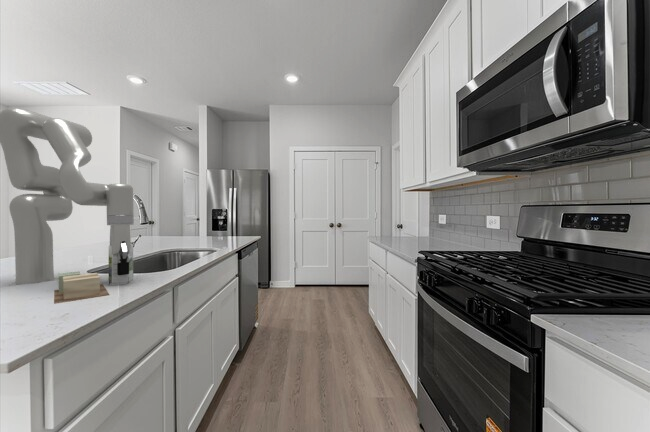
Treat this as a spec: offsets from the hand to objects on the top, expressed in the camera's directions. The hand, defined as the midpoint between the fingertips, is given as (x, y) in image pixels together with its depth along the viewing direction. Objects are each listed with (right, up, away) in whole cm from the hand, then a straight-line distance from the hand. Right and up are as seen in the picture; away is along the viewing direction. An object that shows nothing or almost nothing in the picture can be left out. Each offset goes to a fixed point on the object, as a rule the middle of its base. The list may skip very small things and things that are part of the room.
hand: (121, 272), depth 102 cm
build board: (-4, -5, -12) cm, 14 cm away
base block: (-2, -4, -14) cm, 15 cm away
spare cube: (-9, -4, -10) cm, 14 cm away
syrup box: (0, -5, 0) cm, 5 cm away
